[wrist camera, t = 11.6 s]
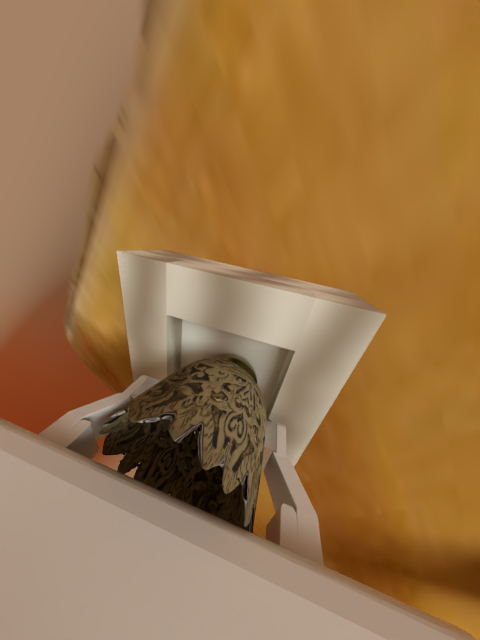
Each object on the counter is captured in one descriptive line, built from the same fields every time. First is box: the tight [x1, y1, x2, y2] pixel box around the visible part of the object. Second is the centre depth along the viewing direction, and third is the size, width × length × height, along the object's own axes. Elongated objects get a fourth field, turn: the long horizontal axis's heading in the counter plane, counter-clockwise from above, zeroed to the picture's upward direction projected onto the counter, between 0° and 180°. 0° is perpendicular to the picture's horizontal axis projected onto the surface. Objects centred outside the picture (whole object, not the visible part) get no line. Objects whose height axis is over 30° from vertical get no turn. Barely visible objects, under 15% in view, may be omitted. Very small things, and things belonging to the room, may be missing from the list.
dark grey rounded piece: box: [99, 356, 266, 533], centre depth 10 cm, size 8×7×8 cm
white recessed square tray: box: [117, 250, 386, 467], centre depth 14 cm, size 15×15×5 cm
